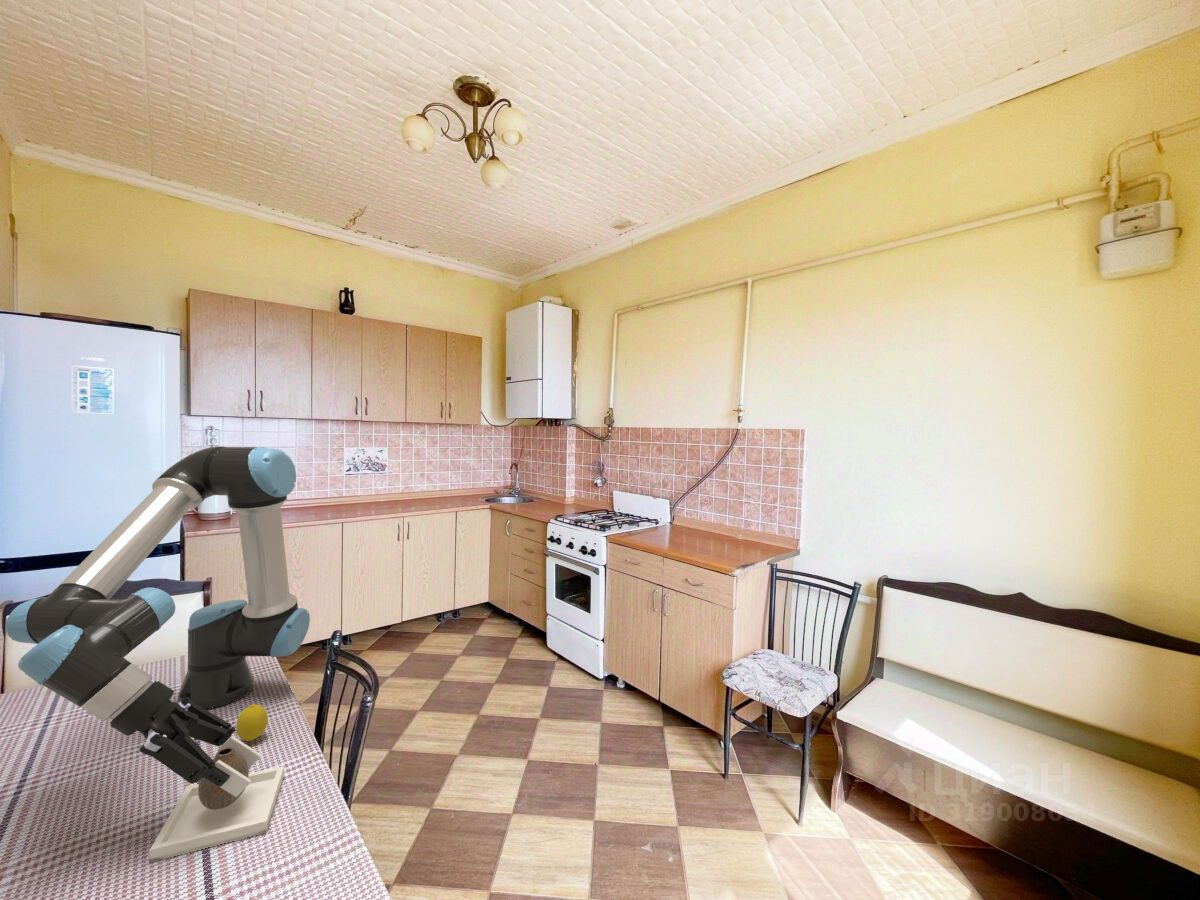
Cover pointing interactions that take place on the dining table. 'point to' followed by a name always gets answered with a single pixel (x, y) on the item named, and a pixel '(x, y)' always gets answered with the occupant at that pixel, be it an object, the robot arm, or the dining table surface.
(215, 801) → the vase
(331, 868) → the dining table surface
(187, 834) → the holder tray
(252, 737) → the lemon
